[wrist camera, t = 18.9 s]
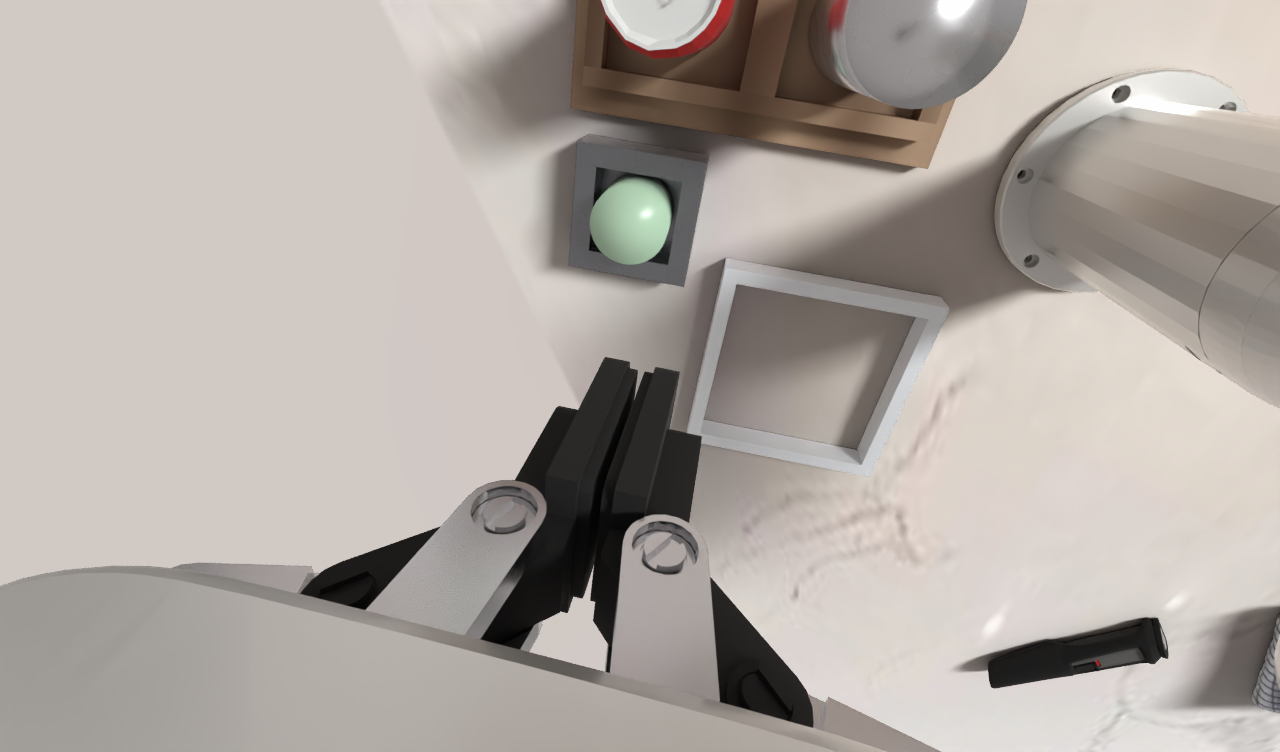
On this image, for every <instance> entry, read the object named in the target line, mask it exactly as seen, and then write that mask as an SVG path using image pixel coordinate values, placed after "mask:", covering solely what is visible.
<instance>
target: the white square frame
mask: <svg viewBox="0 0 1280 752" xmlns="http://www.w3.org/2000/svg"><path fill="white" fill-rule="evenodd" d="M737 284H739V285H745V286H750V287H756V288H761V289H766V290H772V291H777V292H783V293H788V294H794V295H799V296H804V297H810V298H815V299H821V300H826V301H832V302H837V303H842V304H848V305H853V306H859V307H864V308H869V309H875V310H880V311H886V312H891V313H897V314H902V315H907V316H913V317H916V318H915V320H914V322H913V325H912V327H911V329H910V331H909V334H908V336H907V338H906V340H905V343H904V345H903V347H902V349H901V352H900V354H899V356H898V358H897V360H896V363H895V365H894V367H893V369H892V372H891V374H890V376H889V378H888V381H887V383H886V385H885V387H884V390H883V392H882V394H881V396H880V399H879V401H878V403H877V405H876V408H875V410H874V412H873V414H872V417H871V419H870V421H869V423H868V425H867V428H866V430H865V432H864V434H863V437H862V439H861V441H860V443H859V446H858V448H857V450H855V449H850V448H845V447H840V446H835V445H830V444H825V443H820V442H815V441H810V440H805V439H800V438H794V437H789V436H784V435H779V434H774V433H769V432H764V431H759V430H754V429H749V428H744V427H739V426H734V425H729V424H724V423H719V422H714V421H709V420H704V415H705V411H706V407H707V403H708V399H709V395H710V391H711V387H712V383H713V379H714V375H715V371H716V367H717V362H718V358H719V354H720V350H721V346H722V342H723V338H724V334H725V330H726V326H727V322H728V318H729V314H730V310H731V306H732V301H733V297H734V293H735V289H736V285H737ZM949 310H950V308H949V307H948V305H947V304H946V303H945V302H944V300H943V299H942V298H941V297H938V296H933V295H927V294H922V293H916V292H911V291H905V290H900V289H894V288H889V287H883V286H878V285H872V284H867V283H861V282H856V281H850V280H845V279H839V278H834V277H828V276H823V275H817V274H812V273H806V272H801V271H795V270H790V269H784V268H779V267H773V266H768V265H762V264H757V263H751V262H746V261H741V260H735V259H730V258H726V259H725V264H724V268H723V273H722V277H721V281H720V286H719V290H718V294H717V299H716V303H715V308H714V312H713V316H712V321H711V325H710V329H709V334H708V338H707V343H706V347H705V351H704V356H703V360H702V365H701V369H700V373H699V378H698V382H697V386H696V391H695V395H694V400H693V404H692V408H691V413H690V417H689V421H688V426H687V433H689V434H694V435H699V436H702V440H701V444H706V445H711V446H716V447H720V448H725V449H730V450H735V451H740V452H745V453H750V454H755V455H760V456H765V457H770V458H775V459H780V460H785V461H790V462H795V463H800V464H805V465H810V466H815V467H820V468H825V469H830V470H835V471H840V472H845V473H850V474H855V475H860V476H865V477H870V475H871V473H872V471H873V469H874V467H875V465H876V463H877V461H878V459H879V457H880V454H881V452H882V450H883V448H884V446H885V444H886V442H887V440H888V438H889V436H890V434H891V431H892V429H893V427H894V425H895V423H896V421H897V419H898V417H899V415H900V413H901V411H902V408H903V406H904V404H905V402H906V400H907V398H908V396H909V394H910V392H911V390H912V388H913V386H914V383H915V381H916V379H917V377H918V375H919V373H920V371H921V369H922V367H923V365H924V363H925V360H926V358H927V356H928V354H929V352H930V350H931V348H932V346H933V344H934V342H935V340H936V337H937V335H938V333H939V331H940V329H941V327H942V325H943V323H944V321H945V319H946V317H947V314H948V312H949Z"/></svg>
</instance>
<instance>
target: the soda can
mask: <svg viewBox="0 0 1280 752" xmlns="http://www.w3.org/2000/svg"><path fill="white" fill-rule="evenodd" d="M600 3H601V6H602V8H603V11H604V14H605V17H606V19H607V21H608V23H609V24H610V25H611V26H612V28H613V29H614V30H615V32H616V33H617V34H618V35H619V37H620V38H621V39H622V40H623V42H624V43H625V44H626V46H627V47H628V48H630V49H633V50H635V51H637V52H640V53H642V54H644V55H646V56H649V57H651V58H653V59H660V58H673V57H682V56H686V55H691V54H695V53H697V52H699V51H701V50H704V49H706V48H708V47H709V46H710V45H711V44H713V43H714V42H715V41H716V40H717V39H718V38H719V37H720V35H721V34H722V33H723V31H724V30H725V28H726V27H727V25H728V23H729V21H730V18H731V16H732V14H733V8H734V3H735V0H600Z"/></svg>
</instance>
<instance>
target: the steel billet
mask: <svg viewBox="0 0 1280 752" xmlns="http://www.w3.org/2000/svg"><path fill="white" fill-rule="evenodd" d="M1026 4H1027V0H817V1H816V3H815V6H814V8H813V11H812V14H811V17H810V22H809V30H808V43H809V49H810V53H811V56H812V59H813V61H814V63H815V65H816V67H817V68H818V70H819V71H820V72H821V73H822V75H823V76H825V77H826V78H827V79H828V80H830V81H831V82H833V83H835V84H837V85H840V86H842V87H845V88H847V89H850V90H852V91H855V92H858V93H860V94H863V95H865V96H868V97H870V98H873V99H875V100H878V101H881V102H883V103H886V104H888V105H891V106H894V107H899V108H905V109H923V108H928V107H934V106H937V105H940V104H944V103H946V102H948V101H951V100H953V99H955V98H957V97H959V96H961V95H962V94H964V93H966V92H967V91H969V90H970V89H972V88H973V87H974V86H976V85H977V84H978V83H979V82H981V81H982V80H983V79H984V78H985V77H986V76H987V75H988V74H989V73H990V72H991V71H992V70H993V69H994V68H995V67H996V66H997V64H998V63H999V62H1000V60H1001V59H1002V58H1003V56H1004V55H1005V54H1006V52H1007V50H1008V49H1009V47H1010V45H1011V44H1012V42H1013V40H1014V38H1015V36H1016V34H1017V32H1018V30H1019V27H1020V24H1021V22H1022V19H1023V16H1024V12H1025V8H1026Z"/></svg>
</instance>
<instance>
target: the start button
mask: <svg viewBox="0 0 1280 752" xmlns="http://www.w3.org/2000/svg"><path fill="white" fill-rule="evenodd" d="M673 213H674V207H673V201H672V198H671V195H670V193H669V191H668V190H667V188H666V187H665V186H664V184H663V183H662V182H660V181H659V180H658V179H657V178H655V177H651V176H646V175H640V174H634V173H629V174H626V175H623V176H621V177H619V178H618V179H616V180H615V181H614V182H613V183H612V184H611V185H610V186H609V188H608V189H607V190H606V191H605V192H604V193H603V194H602V196H601V197H600V198H599V199H598V200H597V202H596V203H595V205H594V207H593V209H592V212H591V216H590V231H591V235H592V238H593V240H594V242H595V244H596V246H597V247H598V249H599V250H600V251H601V252H602V253H603V254H604V255H605V256H607V257H608V258H609V259H611V260H613V261H615V262H618V263H621V264H627V265H634V264H640V263H643V262H646V261H648V260H650V259H651V258H653V257H654V256H655V255H656V254H657V253H658V252H659V251H660V249H661V248H662V246H663V244H664V242H665V240H666V237H667V234H668V231H669V228H670V225H671V223H672V219H673Z"/></svg>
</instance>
